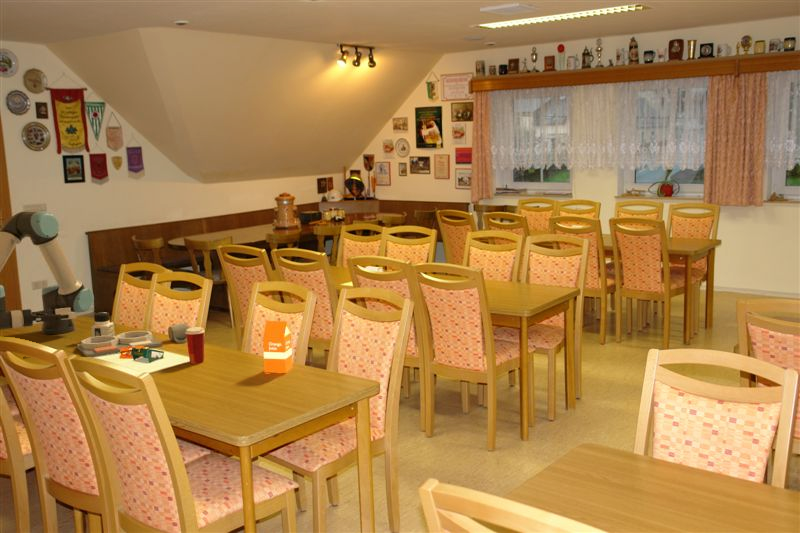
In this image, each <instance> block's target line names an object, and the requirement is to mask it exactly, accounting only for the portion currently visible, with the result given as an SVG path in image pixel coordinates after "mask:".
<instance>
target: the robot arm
mask: <svg viewBox="0 0 800 533" xmlns="http://www.w3.org/2000/svg"><path fill="white" fill-rule="evenodd" d="M59 228H60V224H59V221H58V218H56V216H55V215H54V214H52V213H50V212H46V211H20V212H18V213H16V214H15V213H14V214H13V215H12V216H11V217H10V218H9V219H8V220H7V221H6V222H5V224H4V225H3V226H2V228H1V229H0V273H1V271H2V270H3V269H4V266H5V265H6V263H7V261H8V259H9V257H11V254H12V253H13V251H14V249H15V248H16V246H17V245H19V244H21V242H22V240H24V239H25V238H30V240H31V243H32V245H34V246H35V247H38V248H39V251H40V253H41V255H42V257H43V259H44V260H45V262H46V264H47V266H48V268H49V270H50V273H52V274H51V275H52V276H53V278H54V280H55V282H56V284H53V285H47V286H44V287H43V288H42V289H41V298H42V309H43V310H38V311H32V309H30V308H27V309H22V310H20V309H19V310H18V309H17V310H9V311H7V305H6V292H5V288H4V285H2V284H0V330H9V329H15V330H17V329H18V328H22V327H24V328H25V327H32V326H33V324H34V322H36V323H42V324H41V334H43V335H59V334H65V333H71V332H73V331H75V329H76V326H75V322H74V321H73V319H77V313H86V312H89V310H90V309H91V308H92V306H93V304H94V301H95V296H94V293H93V291H92V289H89V288H86V287H85V286H84V284H83V282H82V281H81V280H78V279H77V277H76V275H75V273H74V271H73V269H72V267H71V264H70V263H69V261H68V259H67V256H66V255H65V253H64V251H63V249H62V247H61V245H60V242H59V240H58V238H59V237H58V236H59V230H60V229H59Z"/></svg>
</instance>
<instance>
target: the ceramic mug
mask: <svg viewBox="0 0 800 533" xmlns="http://www.w3.org/2000/svg"><path fill="white" fill-rule="evenodd" d="M187 329H189V326H188V324H187V322H182V323H179V324H173V325H171V326H169V327H168V330H167V333H168V338H169V340H170V341H171V342H176V343H177V344H184V343H186V342H187V336H186V333H185V332H186V330H187Z"/></svg>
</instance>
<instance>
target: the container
mask: <svg viewBox="0 0 800 533" xmlns="http://www.w3.org/2000/svg"><path fill="white" fill-rule="evenodd" d="M93 317H94V318H93V320H94V324H93V325H91V327H90V329H91V337H96V336H116V335H115V325H114V322H110V314H109V312H104V311H103V312H97V313H95V314H93Z"/></svg>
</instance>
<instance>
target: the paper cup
mask: <svg viewBox="0 0 800 533" xmlns="http://www.w3.org/2000/svg"><path fill="white" fill-rule="evenodd" d="M185 333H186V336H187V341H186V342H187V351H188V358H189V363H190V364H193V365H199V364H202V363H204V362H205V333H206V332H205V329H204V328H203V327H201V326H198V327H197V326H196V327H195V326H194V327H190V328H189V327H188V329H187V330H186V332H185Z"/></svg>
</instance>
